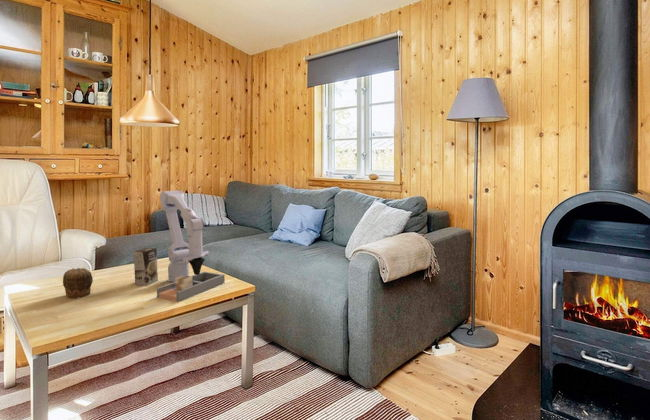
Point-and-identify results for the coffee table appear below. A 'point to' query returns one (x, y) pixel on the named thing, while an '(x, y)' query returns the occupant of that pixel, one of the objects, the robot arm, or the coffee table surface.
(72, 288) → the dark brown rounded lump
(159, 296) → the tray
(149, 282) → the coffee box
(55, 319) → the coffee table surface
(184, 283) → the cream block
